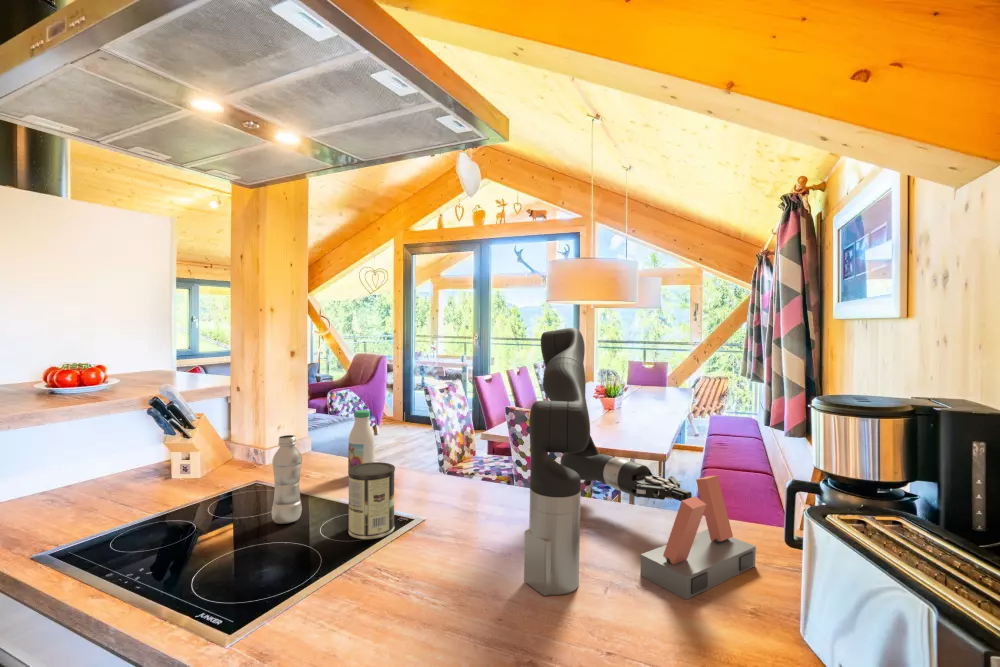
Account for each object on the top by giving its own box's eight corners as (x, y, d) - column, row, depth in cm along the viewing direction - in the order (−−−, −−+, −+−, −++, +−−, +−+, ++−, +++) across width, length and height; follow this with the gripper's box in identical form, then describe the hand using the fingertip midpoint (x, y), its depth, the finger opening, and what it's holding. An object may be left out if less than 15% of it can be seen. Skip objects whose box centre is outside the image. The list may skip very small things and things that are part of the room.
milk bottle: (367, 471, 158) (368, 407, 157) (378, 477, 152) (379, 411, 152) (344, 475, 153) (344, 410, 153) (354, 482, 147) (355, 414, 147)
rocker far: (722, 543, 99) (706, 478, 102) (710, 543, 101) (695, 479, 104) (733, 538, 101) (717, 475, 104) (722, 538, 103) (706, 476, 106)
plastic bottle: (265, 523, 117) (265, 438, 116) (289, 514, 123) (289, 432, 122) (284, 529, 114) (284, 441, 113) (308, 519, 120) (308, 435, 119)
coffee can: (371, 517, 121) (371, 459, 121) (403, 527, 116) (404, 466, 116) (337, 532, 112) (338, 470, 112) (371, 543, 107) (371, 478, 107)
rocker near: (672, 566, 91) (692, 508, 88) (661, 557, 93) (681, 500, 90) (686, 561, 93) (706, 504, 90) (675, 551, 95) (694, 495, 92)
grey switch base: (687, 600, 87) (688, 577, 87) (640, 575, 95) (640, 554, 95) (756, 566, 99) (757, 546, 99) (709, 547, 108) (709, 528, 107)
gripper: (608, 465, 118) (670, 485, 104) (645, 457, 125) (708, 475, 111) (607, 496, 118) (669, 521, 104) (644, 487, 126) (707, 509, 111)
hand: (689, 497), depth 108 cm, fingers closed
